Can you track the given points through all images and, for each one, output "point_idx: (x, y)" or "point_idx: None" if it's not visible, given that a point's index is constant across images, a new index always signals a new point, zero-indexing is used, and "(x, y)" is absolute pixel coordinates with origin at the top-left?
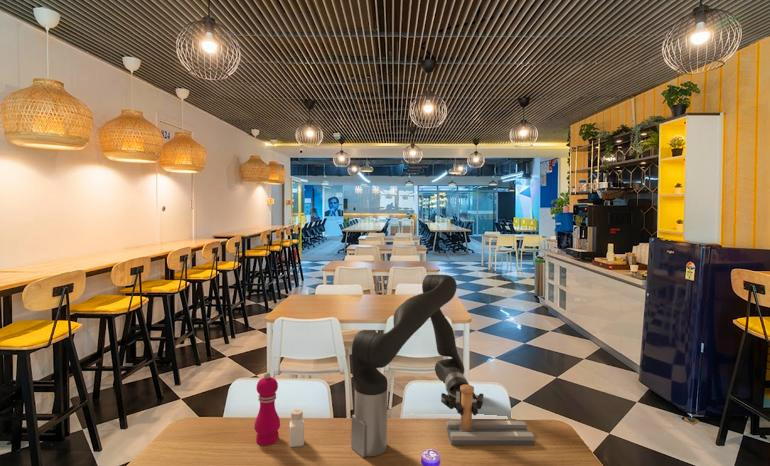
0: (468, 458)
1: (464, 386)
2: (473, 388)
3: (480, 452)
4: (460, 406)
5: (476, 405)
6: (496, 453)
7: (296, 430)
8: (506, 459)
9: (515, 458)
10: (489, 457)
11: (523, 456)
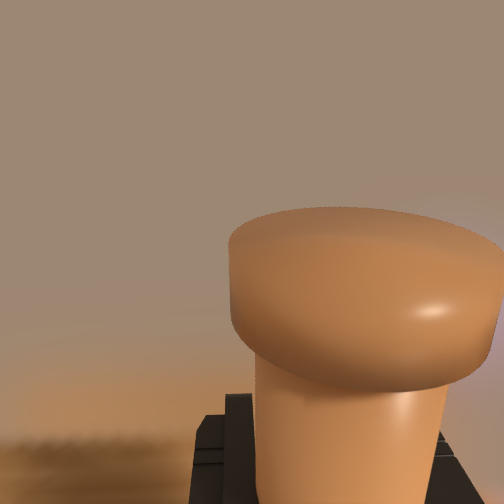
0: None
1: (415, 253)
2: (245, 224)
3: None
4: None
5: (190, 494)
6: (138, 482)
7: None
8: (113, 437)
9: (61, 446)
10: (193, 447)
11: (3, 463)
